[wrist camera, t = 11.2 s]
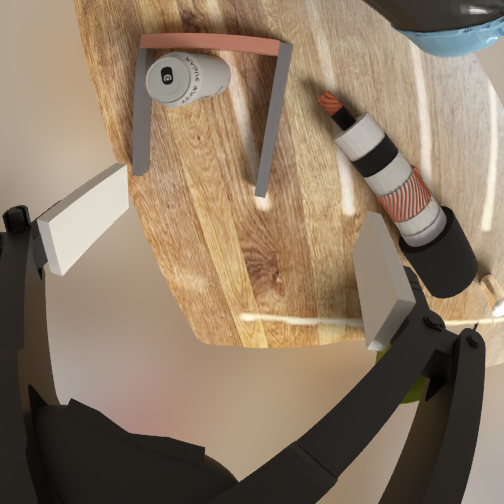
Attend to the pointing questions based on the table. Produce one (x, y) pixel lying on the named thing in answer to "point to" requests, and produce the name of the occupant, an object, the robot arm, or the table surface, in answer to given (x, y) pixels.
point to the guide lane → (208, 42)
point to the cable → (407, 204)
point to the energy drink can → (186, 78)
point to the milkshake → (493, 295)
